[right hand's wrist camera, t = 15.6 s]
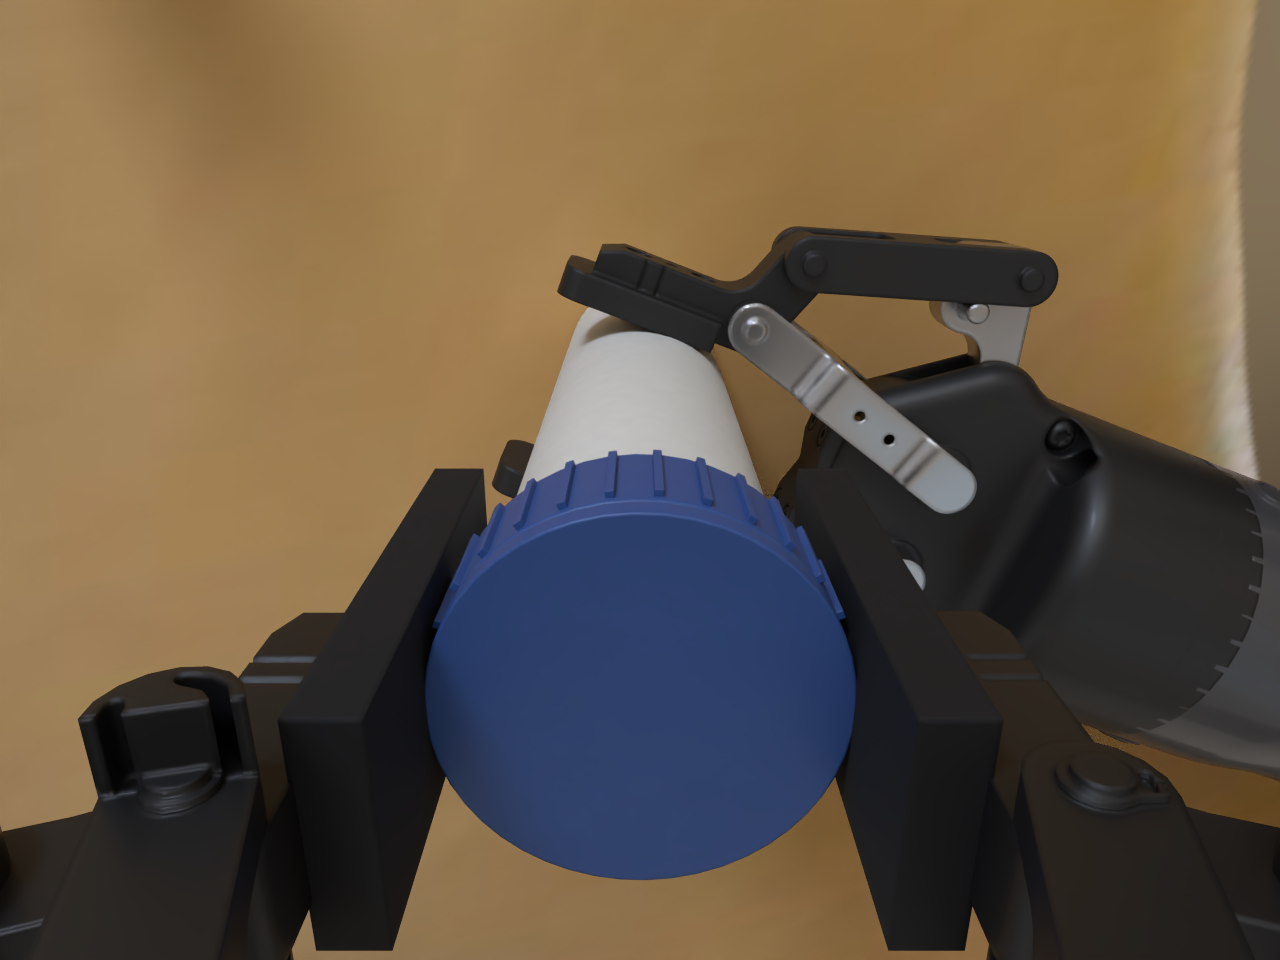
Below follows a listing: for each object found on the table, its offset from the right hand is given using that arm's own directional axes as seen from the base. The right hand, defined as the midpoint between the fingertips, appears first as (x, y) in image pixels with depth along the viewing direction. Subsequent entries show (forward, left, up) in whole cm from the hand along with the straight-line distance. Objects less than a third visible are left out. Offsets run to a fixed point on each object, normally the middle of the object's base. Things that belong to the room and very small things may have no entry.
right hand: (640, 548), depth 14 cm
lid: (0, 0, +4) cm, 4 cm away
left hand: (-2, +2, -8) cm, 8 cm away
